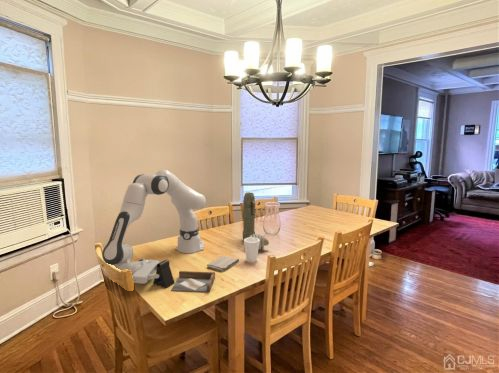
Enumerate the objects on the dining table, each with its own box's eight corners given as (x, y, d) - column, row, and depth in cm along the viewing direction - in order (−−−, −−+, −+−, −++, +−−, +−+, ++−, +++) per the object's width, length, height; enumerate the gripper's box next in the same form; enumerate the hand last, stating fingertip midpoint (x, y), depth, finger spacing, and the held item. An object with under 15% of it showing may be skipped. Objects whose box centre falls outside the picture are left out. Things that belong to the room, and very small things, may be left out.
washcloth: (205, 269, 181) (205, 264, 181) (223, 258, 197) (222, 253, 196) (223, 273, 176) (223, 268, 175) (239, 262, 191) (239, 257, 191)
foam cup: (248, 256, 199) (248, 236, 197) (261, 258, 195) (262, 238, 193) (241, 261, 191) (241, 241, 188) (255, 264, 187) (255, 243, 184)
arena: (179, 277, 170) (179, 271, 169) (214, 278, 168) (214, 272, 168) (171, 291, 155) (170, 284, 154) (209, 292, 154) (209, 285, 153)
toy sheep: (269, 253, 205) (270, 236, 203) (243, 253, 203) (243, 237, 201) (267, 247, 215) (267, 231, 213) (242, 247, 214) (242, 231, 212)
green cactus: (250, 244, 219) (250, 195, 213) (238, 240, 228) (239, 192, 222) (259, 241, 225) (259, 193, 219) (247, 237, 234) (248, 191, 228)
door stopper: (153, 284, 162) (152, 262, 160) (161, 279, 167) (160, 257, 165) (166, 288, 158) (165, 265, 155) (174, 283, 163) (173, 261, 161)
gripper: (126, 274, 151) (154, 275, 150) (143, 257, 171) (168, 258, 171) (126, 286, 152) (154, 287, 152) (143, 268, 173) (168, 269, 172)
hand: (162, 271), depth 161 cm, fingers open, 8 cm apart
